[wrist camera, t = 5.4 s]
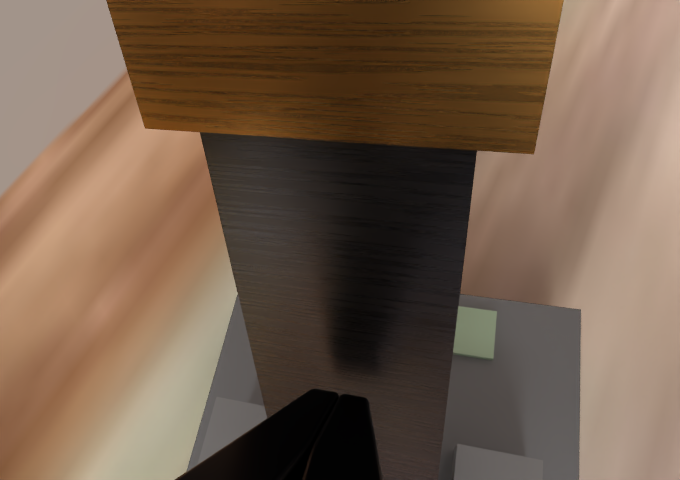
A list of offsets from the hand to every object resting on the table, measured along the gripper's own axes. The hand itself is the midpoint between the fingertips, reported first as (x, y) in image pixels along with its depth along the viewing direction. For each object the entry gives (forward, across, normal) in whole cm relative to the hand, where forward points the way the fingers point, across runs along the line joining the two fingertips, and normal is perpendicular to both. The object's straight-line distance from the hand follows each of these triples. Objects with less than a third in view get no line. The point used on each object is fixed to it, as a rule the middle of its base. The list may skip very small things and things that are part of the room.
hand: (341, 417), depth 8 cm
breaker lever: (+2, 0, +4) cm, 4 cm away
